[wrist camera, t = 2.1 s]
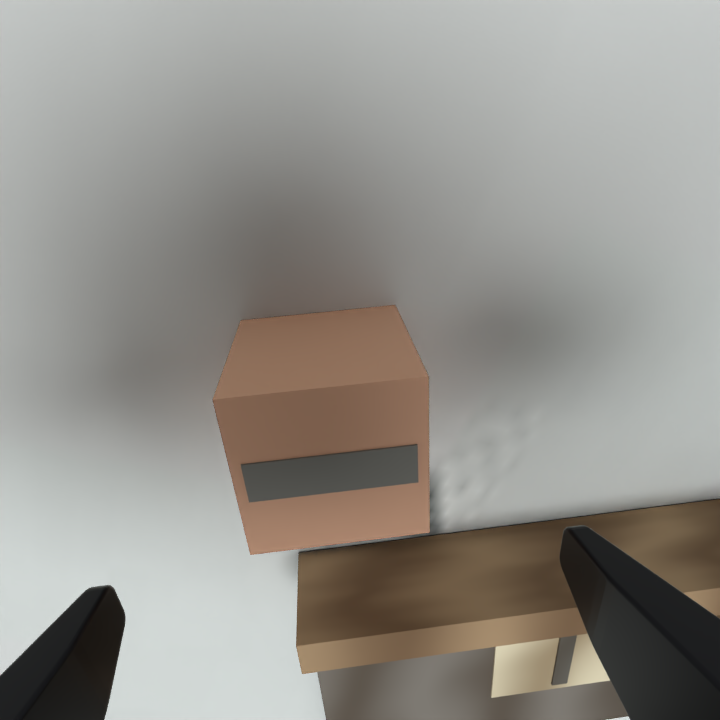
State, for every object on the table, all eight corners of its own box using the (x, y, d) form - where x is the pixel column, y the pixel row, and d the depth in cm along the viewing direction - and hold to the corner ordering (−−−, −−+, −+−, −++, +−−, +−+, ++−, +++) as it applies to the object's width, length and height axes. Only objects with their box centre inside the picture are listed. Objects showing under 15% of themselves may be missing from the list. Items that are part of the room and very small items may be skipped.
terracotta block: (394, 304, 16) (428, 377, 11) (399, 430, 18) (429, 533, 13) (240, 319, 15) (212, 400, 11) (265, 445, 18) (250, 556, 13)
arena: (752, 494, 21) (843, 570, 17) (676, 692, 28) (730, 776, 24) (298, 552, 20) (296, 646, 16) (333, 743, 27) (337, 839, 23)
